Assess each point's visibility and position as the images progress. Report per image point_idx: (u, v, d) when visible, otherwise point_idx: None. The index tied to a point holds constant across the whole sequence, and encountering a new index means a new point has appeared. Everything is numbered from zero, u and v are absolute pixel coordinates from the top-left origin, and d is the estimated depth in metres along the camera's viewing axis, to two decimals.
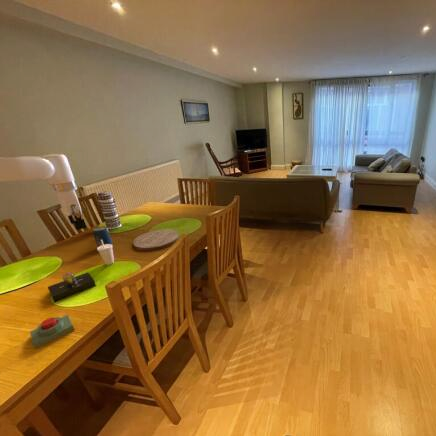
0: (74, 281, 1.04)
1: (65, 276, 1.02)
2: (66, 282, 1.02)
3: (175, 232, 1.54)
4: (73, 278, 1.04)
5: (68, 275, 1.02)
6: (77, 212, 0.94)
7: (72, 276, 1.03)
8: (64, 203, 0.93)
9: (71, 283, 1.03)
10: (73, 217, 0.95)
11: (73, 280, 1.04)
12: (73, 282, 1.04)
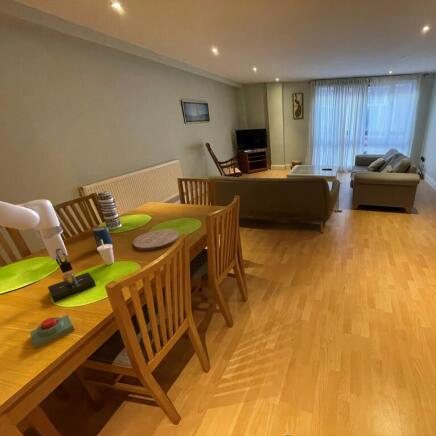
0: (74, 281, 1.04)
1: (65, 276, 1.02)
2: (66, 282, 1.02)
3: (175, 232, 1.54)
4: (73, 278, 1.04)
5: (68, 275, 1.02)
6: (62, 257, 0.93)
7: (72, 276, 1.03)
8: (49, 248, 0.93)
9: (71, 283, 1.03)
10: (58, 261, 0.95)
11: (73, 280, 1.04)
12: (73, 282, 1.04)
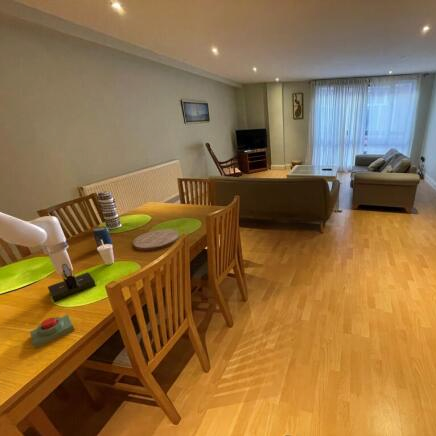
0: None
1: None
2: None
3: (175, 232, 1.54)
4: None
5: None
6: (69, 275, 0.98)
7: None
8: (55, 264, 0.95)
9: None
10: (64, 276, 0.99)
11: None
12: None
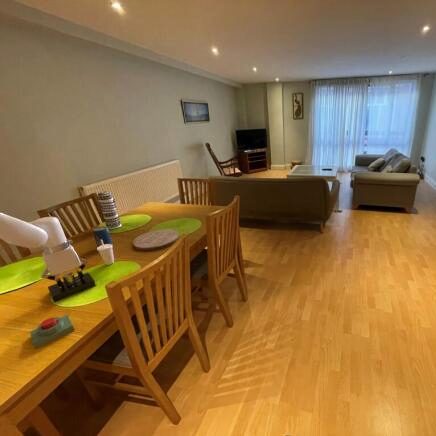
0: (66, 284, 1.02)
1: (65, 274, 1.03)
2: None
3: (175, 232, 1.54)
4: (65, 281, 1.02)
5: (65, 275, 1.02)
6: None
7: (64, 279, 1.01)
8: None
9: (65, 283, 1.03)
10: None
11: (65, 282, 1.02)
12: None
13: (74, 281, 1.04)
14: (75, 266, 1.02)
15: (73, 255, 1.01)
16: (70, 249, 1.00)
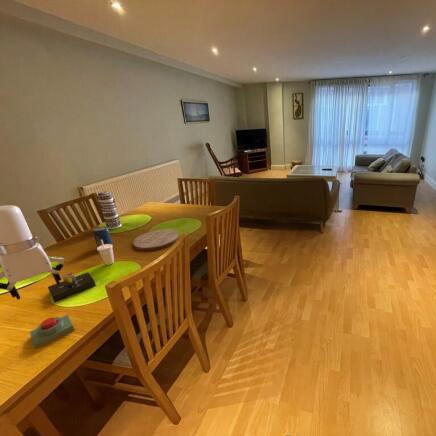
0: (66, 284, 1.02)
1: (65, 274, 1.03)
2: None
3: (175, 232, 1.54)
4: (65, 281, 1.02)
5: (65, 275, 1.02)
6: None
7: (64, 279, 1.01)
8: None
9: (65, 283, 1.03)
10: (7, 282, 0.75)
11: (65, 282, 1.02)
12: None
13: (74, 281, 1.04)
14: (44, 271, 0.79)
15: (41, 256, 0.78)
16: (37, 248, 0.76)
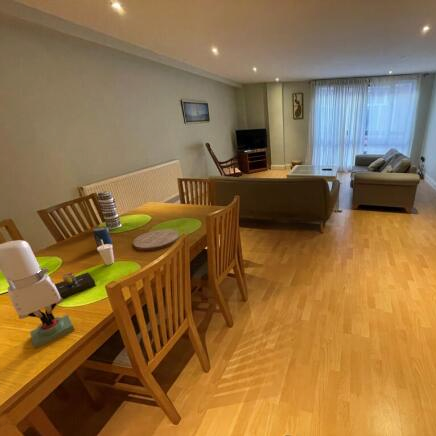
0: (66, 284, 1.02)
1: (65, 274, 1.03)
2: None
3: (175, 232, 1.54)
4: (65, 281, 1.02)
5: (65, 275, 1.02)
6: None
7: (64, 279, 1.01)
8: None
9: (65, 283, 1.03)
10: None
11: (65, 282, 1.02)
12: None
13: (74, 281, 1.04)
14: (52, 302, 0.80)
15: (49, 288, 0.78)
16: (45, 281, 0.77)
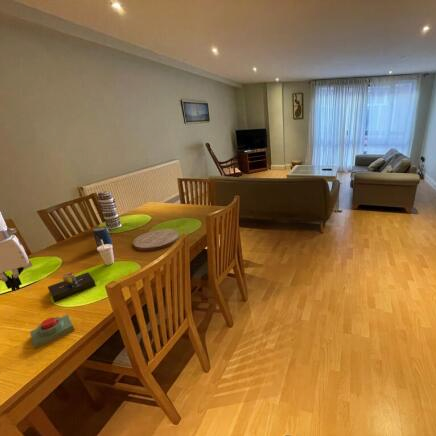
0: (66, 284, 1.02)
1: (65, 274, 1.03)
2: None
3: (175, 232, 1.54)
4: (65, 281, 1.02)
5: (65, 275, 1.02)
6: None
7: (64, 279, 1.01)
8: None
9: (65, 283, 1.03)
10: None
11: (65, 282, 1.02)
12: None
13: (74, 281, 1.04)
14: (19, 265, 0.74)
15: (16, 249, 0.73)
16: (11, 241, 0.72)
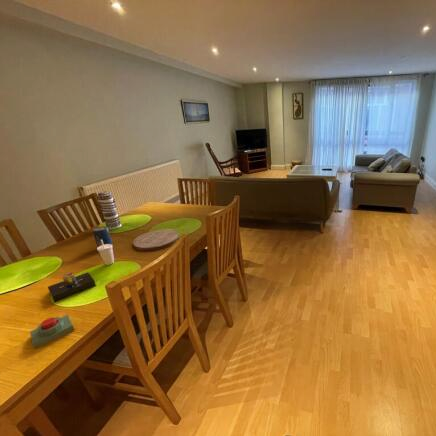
0: (66, 284, 1.02)
1: (65, 274, 1.03)
2: None
3: (175, 232, 1.54)
4: (65, 281, 1.02)
5: (65, 275, 1.02)
6: None
7: (64, 279, 1.01)
8: None
9: (65, 283, 1.03)
10: None
11: (65, 282, 1.02)
12: None
13: (74, 281, 1.04)
14: None
15: None
16: None
